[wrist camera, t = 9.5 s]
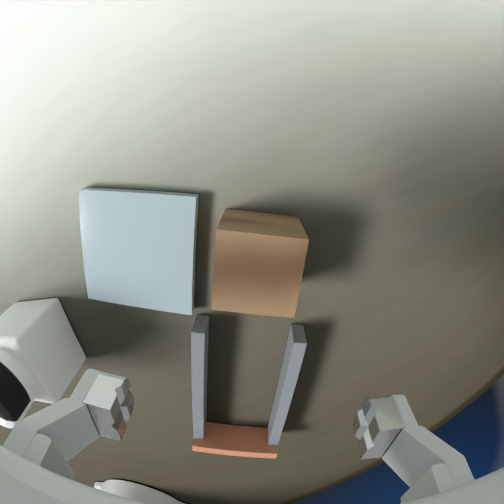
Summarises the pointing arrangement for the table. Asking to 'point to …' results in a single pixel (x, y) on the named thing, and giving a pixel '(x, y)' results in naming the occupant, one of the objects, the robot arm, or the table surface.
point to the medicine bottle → (35, 357)
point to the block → (258, 263)
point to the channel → (234, 436)
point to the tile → (140, 247)
